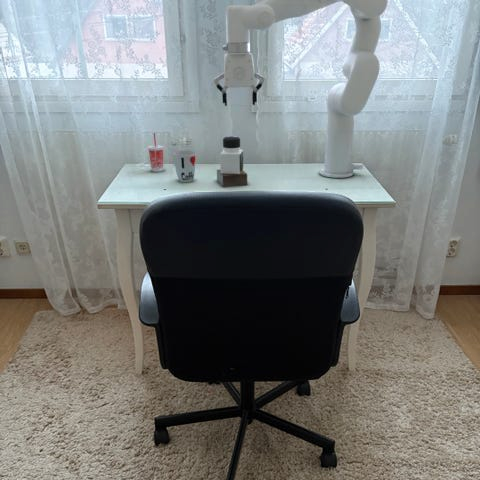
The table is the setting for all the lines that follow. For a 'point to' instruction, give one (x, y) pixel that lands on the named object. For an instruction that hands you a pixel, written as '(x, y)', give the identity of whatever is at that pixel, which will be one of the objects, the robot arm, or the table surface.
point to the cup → (185, 165)
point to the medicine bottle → (231, 156)
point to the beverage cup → (156, 157)
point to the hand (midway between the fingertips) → (239, 105)
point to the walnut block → (232, 179)
